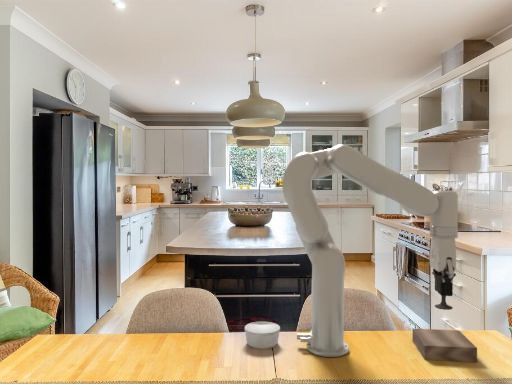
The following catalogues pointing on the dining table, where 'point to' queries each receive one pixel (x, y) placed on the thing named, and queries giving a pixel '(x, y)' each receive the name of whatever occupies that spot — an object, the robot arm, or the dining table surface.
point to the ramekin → (262, 334)
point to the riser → (444, 345)
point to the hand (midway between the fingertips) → (443, 292)
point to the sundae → (438, 281)
